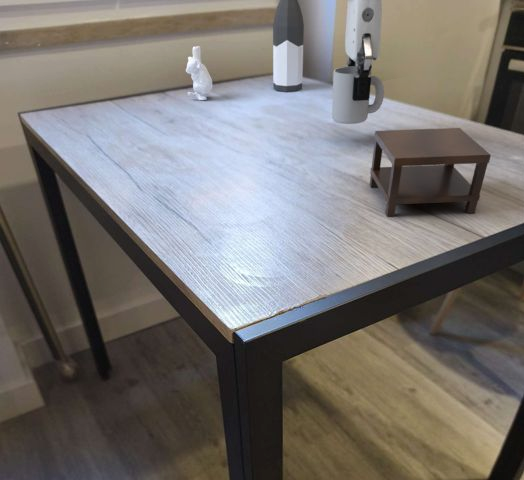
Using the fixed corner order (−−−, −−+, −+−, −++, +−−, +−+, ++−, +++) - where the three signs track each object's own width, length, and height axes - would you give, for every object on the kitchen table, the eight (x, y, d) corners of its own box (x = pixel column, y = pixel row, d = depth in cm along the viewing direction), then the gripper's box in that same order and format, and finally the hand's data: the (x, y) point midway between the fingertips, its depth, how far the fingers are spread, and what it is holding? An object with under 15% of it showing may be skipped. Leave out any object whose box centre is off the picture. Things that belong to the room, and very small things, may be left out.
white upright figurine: (188, 95, 139) (183, 44, 131) (213, 94, 139) (209, 43, 132) (188, 103, 132) (182, 50, 125) (213, 102, 133) (210, 49, 125)
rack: (448, 181, 89) (459, 127, 83) (475, 213, 79) (491, 154, 73) (368, 184, 89) (375, 130, 83) (386, 217, 79) (394, 158, 73)
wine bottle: (302, 85, 145) (306, -48, 126) (301, 92, 139) (304, -47, 120) (274, 85, 146) (274, -48, 127) (271, 92, 140) (270, -46, 121)
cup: (334, 113, 107) (336, 66, 102) (383, 115, 105) (387, 66, 99) (329, 123, 102) (330, 74, 96) (379, 125, 100) (384, 74, 94)
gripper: (398, -12, 83) (385, 105, 94) (374, -19, 96) (366, 84, 108) (352, -10, 83) (345, 107, 94) (335, -17, 96) (331, 86, 108)
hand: (356, 94), depth 101 cm, fingers closed on cup, 7 cm apart
